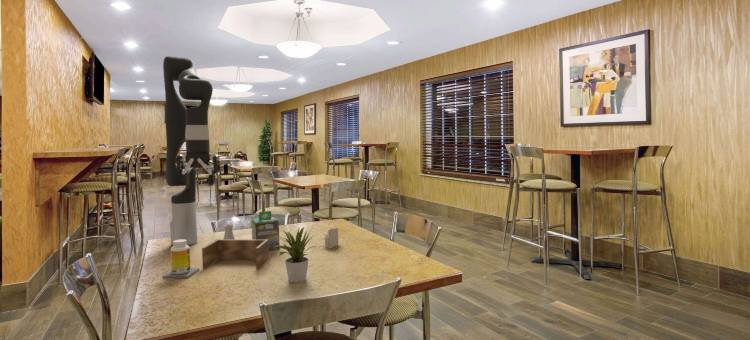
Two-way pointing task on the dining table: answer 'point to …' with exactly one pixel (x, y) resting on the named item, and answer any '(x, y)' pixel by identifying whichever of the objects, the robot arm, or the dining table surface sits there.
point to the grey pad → (185, 275)
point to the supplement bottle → (180, 257)
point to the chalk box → (266, 229)
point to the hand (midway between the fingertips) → (199, 185)
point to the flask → (228, 233)
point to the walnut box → (236, 251)
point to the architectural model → (331, 238)
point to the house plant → (296, 256)
